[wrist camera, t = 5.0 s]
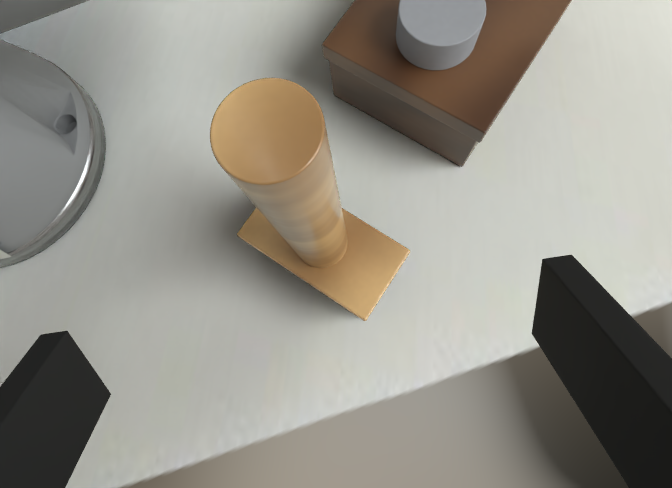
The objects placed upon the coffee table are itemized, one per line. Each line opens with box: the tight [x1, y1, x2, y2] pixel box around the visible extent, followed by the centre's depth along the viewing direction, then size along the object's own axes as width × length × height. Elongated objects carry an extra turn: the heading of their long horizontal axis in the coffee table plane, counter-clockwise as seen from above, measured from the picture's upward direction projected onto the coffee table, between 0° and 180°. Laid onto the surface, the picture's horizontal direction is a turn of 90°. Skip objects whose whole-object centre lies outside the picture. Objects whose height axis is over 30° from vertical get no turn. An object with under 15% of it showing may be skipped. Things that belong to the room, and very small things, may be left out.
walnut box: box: [322, 0, 572, 167], centre depth 26 cm, size 11×13×5 cm
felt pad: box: [396, 0, 486, 70], centre depth 22 cm, size 4×4×2 cm
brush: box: [210, 78, 410, 321], centre depth 18 cm, size 8×4×16 cm, turn 56°
